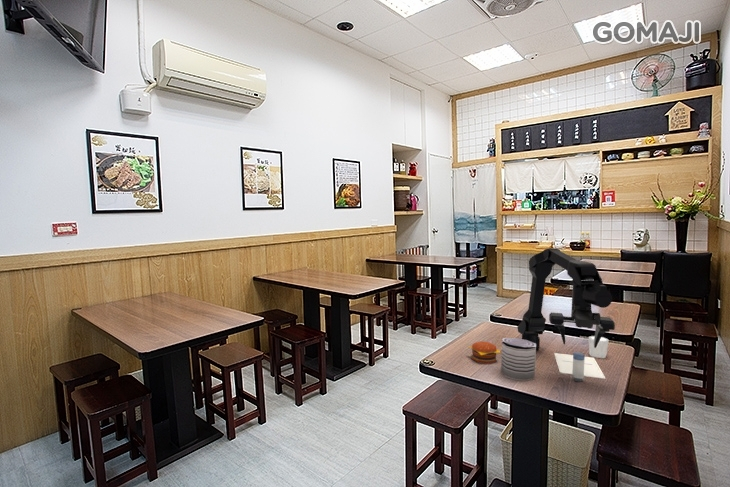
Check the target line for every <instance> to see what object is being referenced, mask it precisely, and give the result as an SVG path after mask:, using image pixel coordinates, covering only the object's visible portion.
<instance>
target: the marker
mask: <svg viewBox="0 0 730 487" xmlns="http://www.w3.org/2000/svg"><path fill="white" fill-rule="evenodd" d="M572 355H573V370H572V375H571V376H572V380H573V381H574V382H578V383H579V382H580V383H581V382H583V380H584V377H585V376H584V360H585V357H586V354H584V353H582V352H577V351H576V352H573V354H572Z"/></svg>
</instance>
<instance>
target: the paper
mask: <svg viewBox="0 0 730 487" xmlns="http://www.w3.org/2000/svg"><path fill="white" fill-rule="evenodd" d="M553 354H554V358H555V361H556V364H557V368H558V371H559V374H564V375H565V374H566V375H571V376H572V370H573V354H566V353H557V352H554V353H553ZM584 377H585V378H586V377H587V378H594V379H602V380H607V378H606V376H605V374H604V373H603V371H602V370H601V368H600V365H599V364H598V363H597V361H596V359H595V357H592V356H585V360H584Z"/></svg>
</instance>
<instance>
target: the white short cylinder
mask: <svg viewBox="0 0 730 487" xmlns="http://www.w3.org/2000/svg"><path fill="white" fill-rule="evenodd" d="M594 338H595V335H591V336H588V350H589V351H588V352H589V356H590V357H592V358H597V359H606V358H607V354H608V352H607V351H608V347H609V341H610V340H609V339H608V338H606V337H604V336H602V337H601V339H600V341H599V343H598V345H597V347H596V348H594Z"/></svg>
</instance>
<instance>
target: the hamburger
mask: <svg viewBox="0 0 730 487" xmlns="http://www.w3.org/2000/svg"><path fill="white" fill-rule="evenodd" d="M468 349H471V350H472V351H471V353H472V354H471V359H472V360H473V361H475V362H477V363H481V364H493V363H496V361H497V354H502V351H500V350H499V349H497V346H496V345H495V344H493V343H491V342H488V341H485V340H483V341H480V340H479V341H477V342H474V343H472V345H471V346H468Z"/></svg>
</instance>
